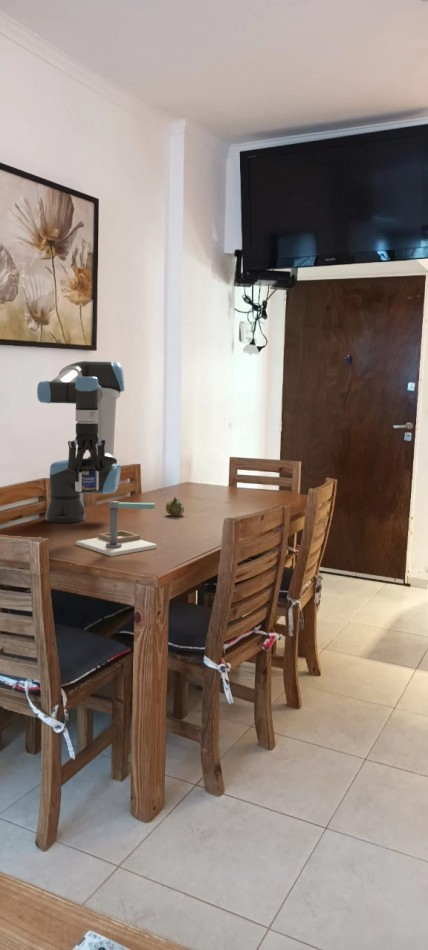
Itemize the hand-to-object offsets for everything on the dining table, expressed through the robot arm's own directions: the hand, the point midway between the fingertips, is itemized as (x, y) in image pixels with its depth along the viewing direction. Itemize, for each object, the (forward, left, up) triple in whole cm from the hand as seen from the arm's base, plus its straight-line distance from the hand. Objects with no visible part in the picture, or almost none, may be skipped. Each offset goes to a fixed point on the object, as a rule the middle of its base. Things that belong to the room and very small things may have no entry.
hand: (86, 490), depth 241 cm
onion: (-14, +52, -17) cm, 56 cm away
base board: (+16, +1, -17) cm, 23 cm away
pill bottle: (0, 0, -1) cm, 1 cm away
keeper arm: (+24, +1, -3) cm, 24 cm away
